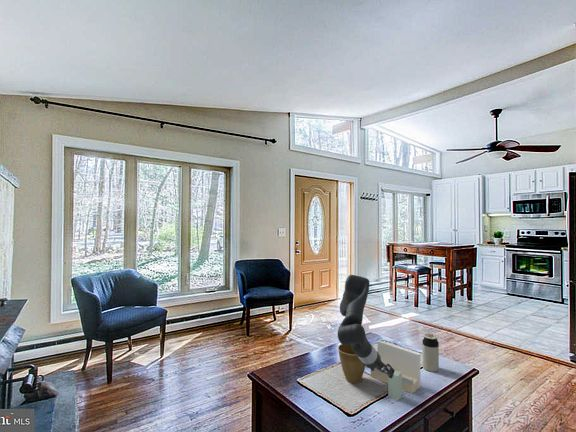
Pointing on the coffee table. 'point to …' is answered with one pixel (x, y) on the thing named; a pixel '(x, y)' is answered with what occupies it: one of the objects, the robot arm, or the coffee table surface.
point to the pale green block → (395, 386)
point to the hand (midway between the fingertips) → (382, 372)
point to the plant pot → (350, 364)
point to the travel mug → (430, 352)
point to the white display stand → (400, 365)
